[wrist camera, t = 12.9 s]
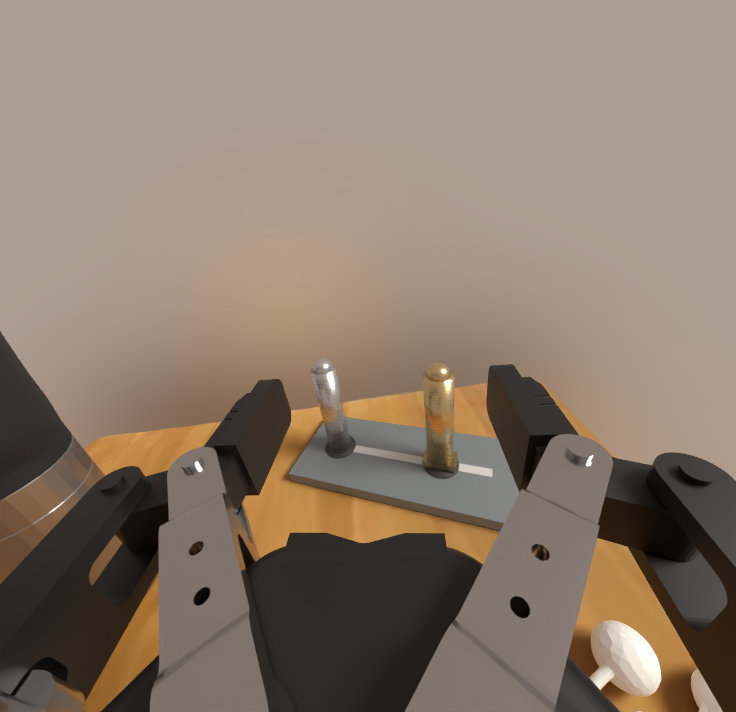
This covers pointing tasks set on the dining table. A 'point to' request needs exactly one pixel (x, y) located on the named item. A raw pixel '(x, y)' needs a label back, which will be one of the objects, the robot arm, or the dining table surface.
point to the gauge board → (413, 472)
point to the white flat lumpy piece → (636, 665)
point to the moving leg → (439, 418)
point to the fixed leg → (331, 405)
